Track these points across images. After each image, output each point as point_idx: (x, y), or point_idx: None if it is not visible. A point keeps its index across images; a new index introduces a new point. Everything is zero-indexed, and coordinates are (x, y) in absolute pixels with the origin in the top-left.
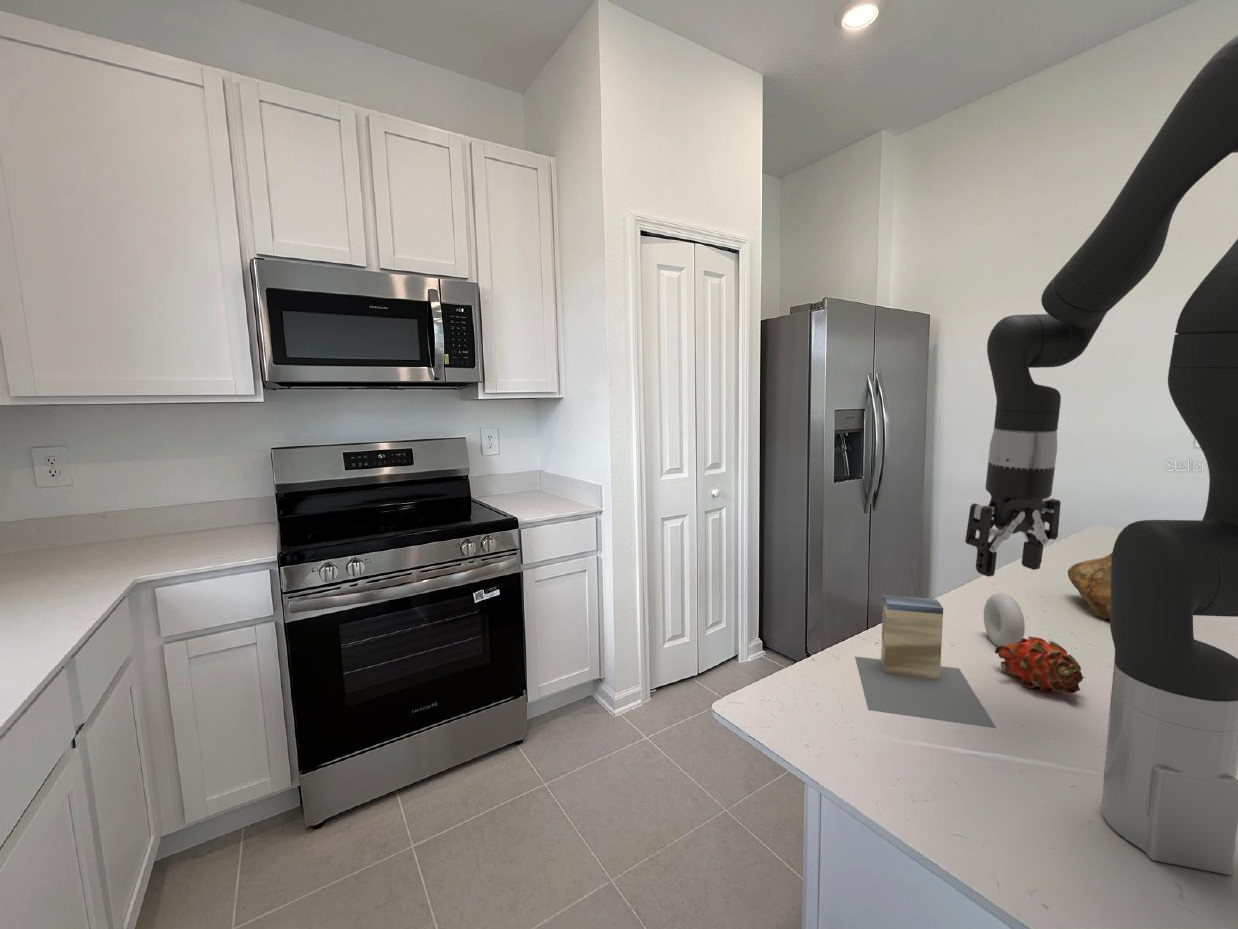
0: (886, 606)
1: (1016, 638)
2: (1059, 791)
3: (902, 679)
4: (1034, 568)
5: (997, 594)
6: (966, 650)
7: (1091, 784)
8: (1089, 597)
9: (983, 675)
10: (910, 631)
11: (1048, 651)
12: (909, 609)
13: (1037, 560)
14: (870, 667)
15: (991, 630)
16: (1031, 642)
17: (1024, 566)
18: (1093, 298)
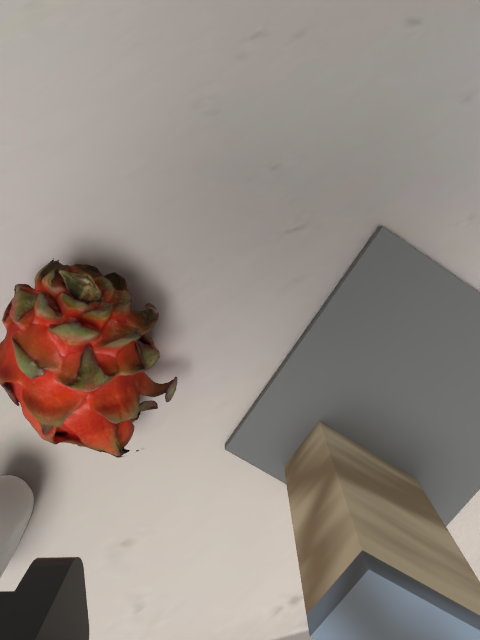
0: None
1: (7, 485)
2: (459, 17)
3: (400, 447)
4: (76, 568)
5: None
6: (113, 516)
7: (369, 12)
8: None
9: (181, 416)
10: (419, 539)
11: (79, 345)
12: (456, 607)
13: (43, 620)
14: None
15: (8, 550)
16: (74, 404)
17: (87, 627)
18: None
